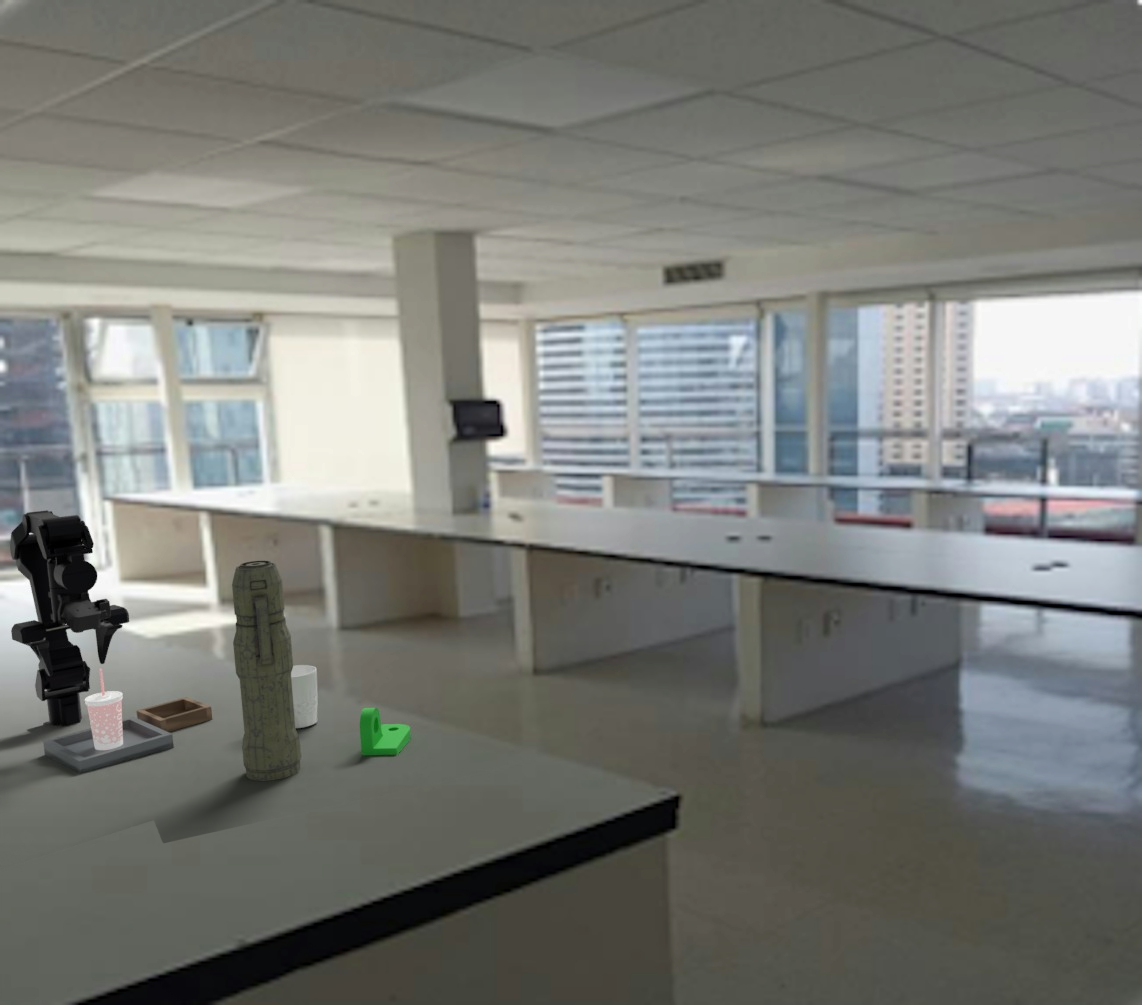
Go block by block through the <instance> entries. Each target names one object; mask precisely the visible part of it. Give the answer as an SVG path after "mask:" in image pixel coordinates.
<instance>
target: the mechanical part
mask: <svg viewBox="0 0 1142 1005" xmlns="http://www.w3.org/2000/svg"><path fill="white" fill-rule="evenodd" d="M359 736H360V737H359V738H360V747H361V756H389V755H390V756H393V755H394V756H397V755H399V754H400V753H401V752H402V751H403V749H404V748H405V747H406V746H405V745H407V744H408V743H409V742H410V740H411V739H412V737H411V736H412V735H411V727H410V726H409V725H408V724H405V723H404V724H403V723H391V724H390V723H386V724H385V723H383V724H382V720H381V713H380V710H379V708H378V707H364V708H363V709H362V710H361V714H360V718H359ZM408 741H409V742H408ZM404 746H405V747H404ZM403 747H404V748H403ZM402 748H403V749H402ZM401 750H402V751H401ZM400 751H401V752H400ZM399 752H400V753H399Z"/></svg>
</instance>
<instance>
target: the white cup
mask: <svg viewBox="0 0 1142 1005" xmlns="http://www.w3.org/2000/svg"><path fill="white" fill-rule="evenodd" d="M291 680H292V692H293V704H294V716H295V728H296V729H301V728H302V729H303V728H307V727H310V726H313V725H315V724H317V722H318V706H319V704H318V699H319V698H318V697H319V696H318V672H317V667H316V666H313V665H311V664H310V665H309V664H298V665H297V664H296V665H293V668H292V671H291Z"/></svg>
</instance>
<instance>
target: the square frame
mask: <svg viewBox="0 0 1142 1005" xmlns="http://www.w3.org/2000/svg"><path fill="white" fill-rule="evenodd" d="M136 718H138V719H140V720H142V721H144V722H147V723H149V724H151V725H153V726H156V727H158V728H160V729H162V730H164V731H167V732H169V733H171V732H173V731H176V730H180V729H184V728H187V727H190V726H194V725H196V724H200V723H204V722H207V721H212V720H213V711H212V706H210V705H208V704H206V703H203V702H201V701H198V700H196V699H192V698H190V697H187V696H186V697H182V698H178V699H175V700H170V701H167V702H163V703H160V704H159V703H158V704H155V705H152V706H149V707H148V706H147V707H145V708H142V709H137V710H136Z"/></svg>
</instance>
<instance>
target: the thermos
mask: <svg viewBox="0 0 1142 1005" xmlns="http://www.w3.org/2000/svg"><path fill="white" fill-rule="evenodd" d="M283 585H284V584H283V578H282V575H281V573H280V571H279V568H278V566H277V563H275V562H272V561H270V560H252V561H246V562H241V563H240V564H239V565H238V566H236V567H235V570H234V574H233V578H232V584H231V588H232V597H233V599H232V600H233V610H234V611H233V612H234V615H235V617H236V618H235V619H236V623H235V633H234V638H233V641H232V643H233V657H234V665H235V667H234V668H235V674H236V676H237V677H238V679H239V686H240V688H239V689H240V695H241V696H240V699H241V707H242V709H241V710H242V720H243V731H244V734H243V737H242V746H241V748H242V750H241V751H242V759H243V766H244V768H245V775H246V778H247V779H250V780H251V781H259V782H262V781H263V782H265V781H268V782H269V781H275V780H276V781H277V780H281V779H285V778H288V777H291V776H293V775H295V774H298V773H299V771H301V769H302V765H301V759H302V748H301V747H302V746H301V738H300V735H299V733H298V732H297V728H295V716H294V704H293V692H292V680H291V671H292V668H293V666H294V655H293V647H292V646H293V645H292V636H291V632H290V630H289V628H288V626H287V623H286V622H287V620H286V617H285V616H284V615H285V613H284V611H285V599H284V597H285V596H284V588H283V587H284V586H283Z"/></svg>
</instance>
